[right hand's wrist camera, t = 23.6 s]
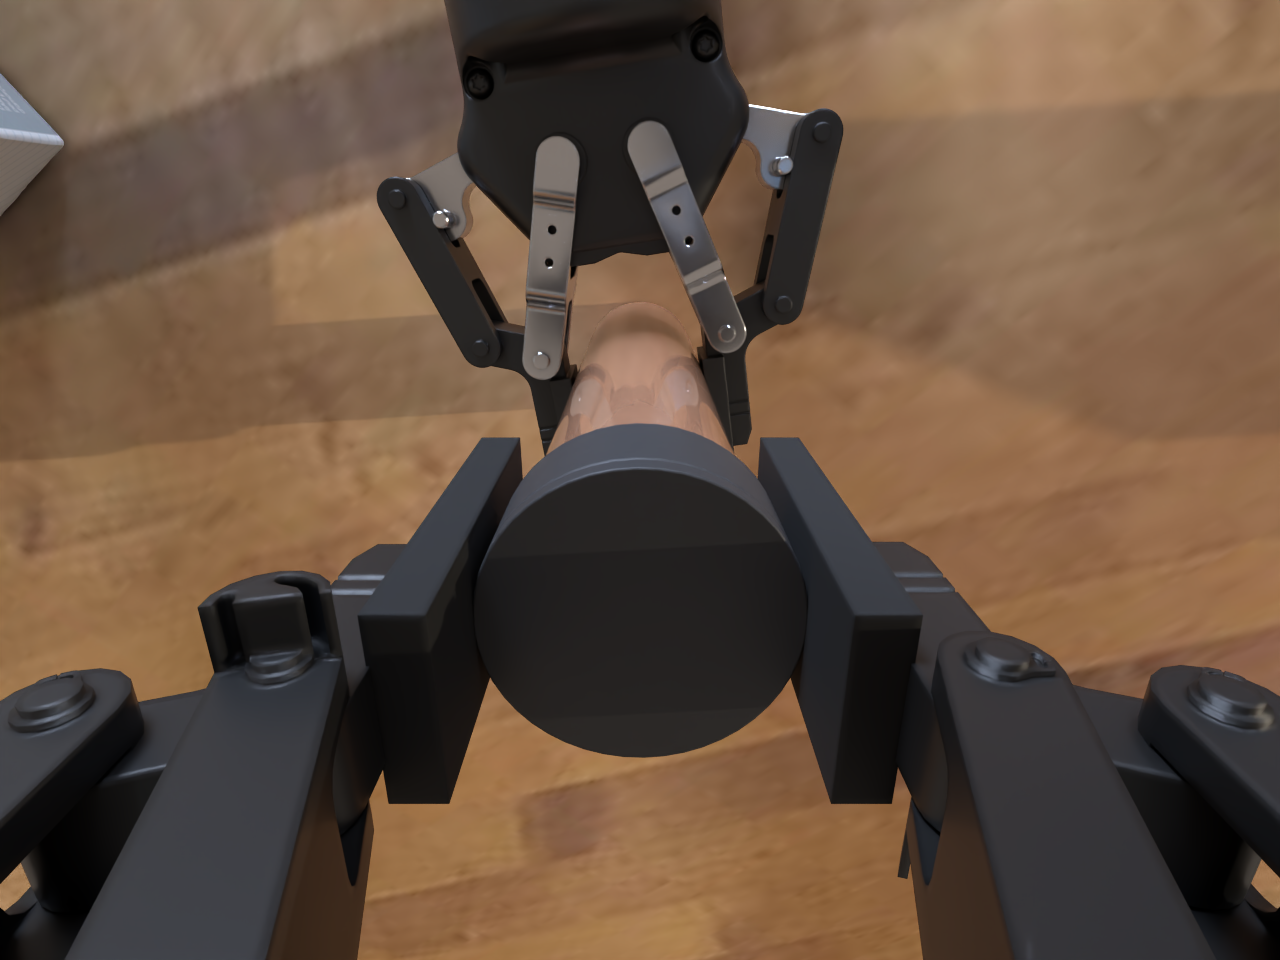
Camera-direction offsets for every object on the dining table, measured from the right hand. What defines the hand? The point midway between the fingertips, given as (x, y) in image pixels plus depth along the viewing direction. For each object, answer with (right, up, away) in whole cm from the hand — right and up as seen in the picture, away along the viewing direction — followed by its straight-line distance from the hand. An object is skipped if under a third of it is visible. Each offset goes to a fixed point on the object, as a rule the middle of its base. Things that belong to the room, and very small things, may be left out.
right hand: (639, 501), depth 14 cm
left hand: (0, +1, +10) cm, 10 cm away
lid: (0, -1, -4) cm, 4 cm away
